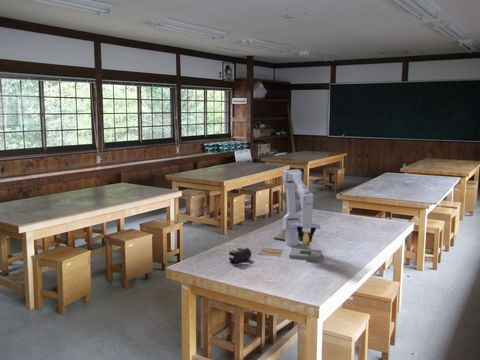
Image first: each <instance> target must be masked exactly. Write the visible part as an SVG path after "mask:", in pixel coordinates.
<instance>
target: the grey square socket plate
mask: <svg viewBox="0 0 480 360" xmlns="http://www.w3.org/2000/svg"><path fill="white" fill-rule="evenodd" d="M321 257H322V250H321V249H319V250H318V249H308V248H296V247H295V248H294V247H292V248H291V249H290V251H289V255H288V258H289V259H296V260H297V259H298V260H305V261H306V262H315V263H316V262H318V263H320V262H321Z"/></svg>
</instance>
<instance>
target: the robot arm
mask: <svg viewBox="0 0 480 360" xmlns="http://www.w3.org/2000/svg"><path fill="white" fill-rule="evenodd" d="M281 175H282V184H283V185H285V194H286V197H287V205H286V207H287V208H286V209H287V210H286V211H287V213H286V214H285V215H284V216H283V218H282V228H283V230H286V237H285V241H284V243H285V245H286V246H289V247H296V246H298V245H300V242H302V231H303V229H310V231H309V232H310V243H312V240H313V237H314V234H315V231H316V230H321V224H317V223H316V224H315V223H313V207H314V206H313V205H314V204H315V203H316V202H315V201H316V198H315V195H314V193H312V192H310V190H309V188H308V187H307V185H305V184H304V182H303V179H302V178H303V173H302V171H301V169H299V168H298V169H284V170H283V172H282V174H281ZM295 187H296V189H295ZM295 190H296V191H295ZM295 192H297V194H298V196H299V201H300V207H301V208H300V209H301V214H300V215H301V216H300V215H299V214H298V213H297V208H296V207H297V206H296V193H295ZM289 218H295V219H289ZM298 233H299V236H298ZM299 241H300V242H299Z"/></svg>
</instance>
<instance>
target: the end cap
mask: <svg viewBox="0 0 480 360" xmlns="http://www.w3.org/2000/svg"><path fill="white" fill-rule="evenodd" d="M228 255H229V257H228V260H229V264H232V265H238V264H241V263H243V262H245V261H248V260H249V259H251V258H252V252H251V250H250V248H248V247H245V248H241V247H239V248H238V247H237V248H236V250H235V249H232V250H230V251H229V252H228ZM230 256H232V257H230Z"/></svg>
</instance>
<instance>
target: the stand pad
mask: <svg viewBox="0 0 480 360" xmlns="http://www.w3.org/2000/svg"><path fill="white" fill-rule="evenodd" d="M283 251H284V249H281V248H280V249H277V248H265V247H262V248H261V249H260V251H259V252H258V254H257V255H258V256H269V257H281V256H282V253H283Z"/></svg>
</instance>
